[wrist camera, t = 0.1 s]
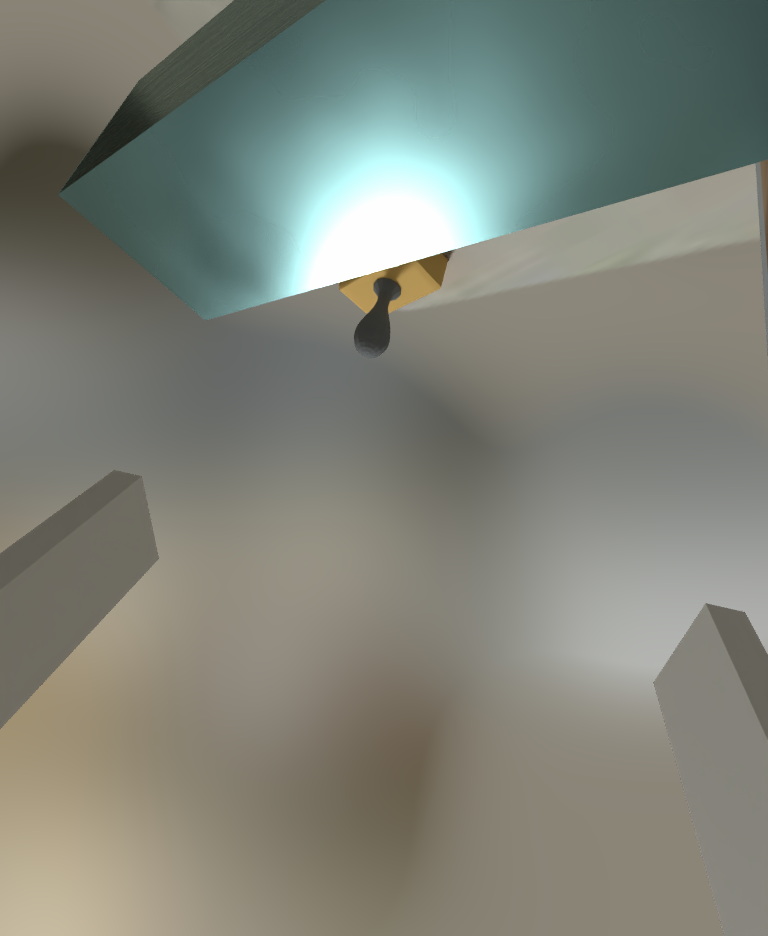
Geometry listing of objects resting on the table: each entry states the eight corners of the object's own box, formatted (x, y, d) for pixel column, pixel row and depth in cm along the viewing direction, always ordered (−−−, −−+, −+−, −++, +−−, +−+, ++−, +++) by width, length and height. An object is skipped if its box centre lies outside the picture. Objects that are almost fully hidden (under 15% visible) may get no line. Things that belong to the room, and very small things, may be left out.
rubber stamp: (412, 219, 45) (381, 319, 41) (449, 261, 48) (424, 358, 44) (345, 262, 52) (312, 352, 48) (381, 296, 55) (354, 383, 51)
